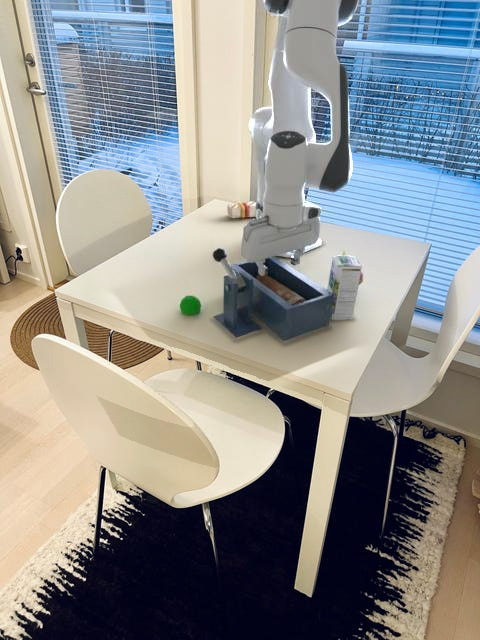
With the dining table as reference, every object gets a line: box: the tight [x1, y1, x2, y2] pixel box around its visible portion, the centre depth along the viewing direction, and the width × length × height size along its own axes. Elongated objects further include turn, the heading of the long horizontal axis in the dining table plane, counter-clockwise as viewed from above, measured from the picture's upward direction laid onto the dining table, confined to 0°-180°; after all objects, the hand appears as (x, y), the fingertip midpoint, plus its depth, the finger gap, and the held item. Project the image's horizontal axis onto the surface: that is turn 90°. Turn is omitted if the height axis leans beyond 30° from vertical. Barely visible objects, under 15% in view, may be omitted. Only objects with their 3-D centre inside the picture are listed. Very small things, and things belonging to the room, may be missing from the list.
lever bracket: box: [213, 271, 263, 338], centre depth 114 cm, size 10×7×13 cm
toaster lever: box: [212, 247, 247, 293], centre depth 113 cm, size 12×3×3 cm, turn 32°
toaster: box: [228, 256, 334, 342], centre depth 120 cm, size 13×24×9 cm, turn 32°
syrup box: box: [326, 254, 363, 321], centre depth 119 cm, size 6×6×14 cm
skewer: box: [226, 200, 256, 219], centre depth 175 cm, size 21×6×5 cm, turn 109°
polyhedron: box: [179, 295, 202, 316], centre depth 120 cm, size 5×5×5 cm
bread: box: [255, 274, 307, 306], centre depth 120 cm, size 6×19×6 cm, turn 26°
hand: (279, 269), depth 117 cm, fingers open, 8 cm apart
